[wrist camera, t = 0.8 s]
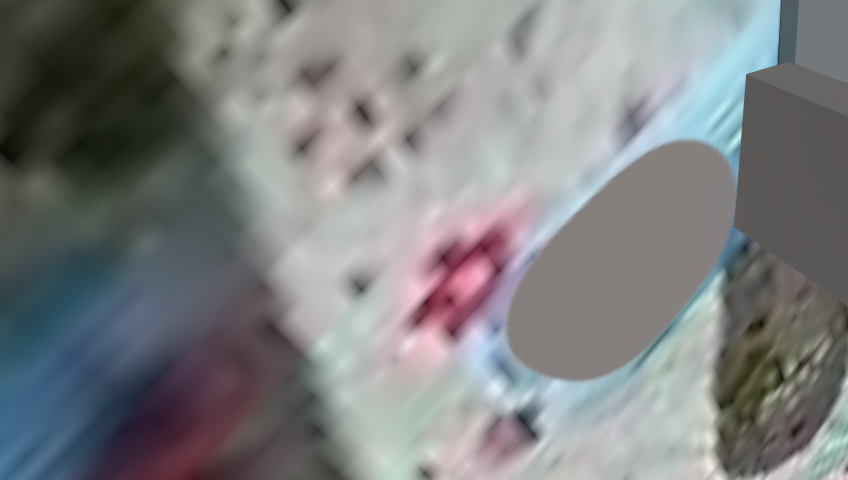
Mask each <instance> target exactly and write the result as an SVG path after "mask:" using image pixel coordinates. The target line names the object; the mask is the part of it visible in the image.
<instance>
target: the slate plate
mask: <svg viewBox="0 0 848 480" xmlns="http://www.w3.org/2000/svg"><path fill="white" fill-rule="evenodd" d="M787 62H791V63H794V64H797V65H799V66H802V67H805V68H807V69H810V70H813V71H816V72H818V73H821V74H824V75H826V76H829V77H832V78H834V79H837V80H840V81H842V82H845V83H848V0H782V8H781V27H780V47H779V65H780V64H783V63H787Z"/></svg>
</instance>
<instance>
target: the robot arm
mask: <svg viewBox="0 0 848 480" xmlns="http://www.w3.org/2000/svg"><path fill="white" fill-rule="evenodd" d="M734 227H735V228H736V229H738V230H739V231H740V232H742V233H743V234H745V235H746V236H748V237H749V238H750V239H752V240H753V241H755V242H756V243H758V244H759V245H761V246H762V247H763V248H765V249H766V250H768V251H769V252H771V253H772V254H774V255H775V256H776V257H778V258H779V259H781V260H782V261H784V262H785V263H786V264H788V265H789V266H791V267H792V268H794V269H795V270H797V271H798V272H799V273H801V274H802V275H804V276H805V277H807V278H808V279H809V280H811V281H812V282H814V283H815V284H817V285H818V286H820V287H821V288H822V289H824V290H825V291H827V292H828V293H830V294H831V295H832V296H834V297H835V298H837V299H838V300H840V301H841V302H843V303H844V304H845V305H847V306H848V83H845V82H842V81H840V80H837V79H834V78H832V77H829V76H826V75H824V74H821V73H818V72H816V71H813V70H810V69H807V68H805V67H802V66H799V65H797V64H794V63H791V62H787V63H783V64H780V65H776V66H773V67H769V68H766V69H762V70H759V71H755V72H752V73H748V74H746V84H745V97H744V110H743V122H742V135H741V148H740V160H739V173H738V186H737V199H736V211H735V224H734Z"/></svg>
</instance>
